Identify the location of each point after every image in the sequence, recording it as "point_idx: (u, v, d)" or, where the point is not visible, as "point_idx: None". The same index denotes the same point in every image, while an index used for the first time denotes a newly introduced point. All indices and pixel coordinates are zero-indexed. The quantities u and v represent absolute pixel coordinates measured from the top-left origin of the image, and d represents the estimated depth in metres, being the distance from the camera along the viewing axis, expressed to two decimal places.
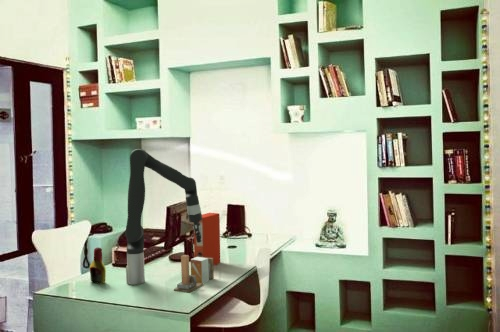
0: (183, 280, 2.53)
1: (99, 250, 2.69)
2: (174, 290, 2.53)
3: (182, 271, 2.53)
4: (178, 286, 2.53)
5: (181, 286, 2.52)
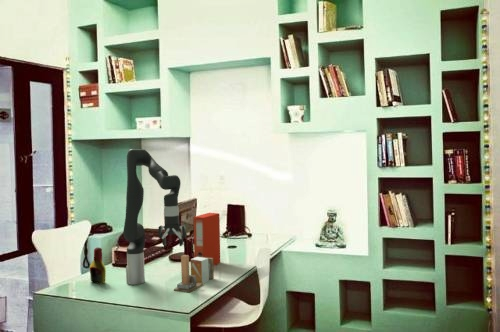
0: (183, 280, 2.53)
1: (99, 250, 2.69)
2: (174, 290, 2.53)
3: (182, 271, 2.53)
4: (178, 286, 2.53)
5: (181, 286, 2.52)
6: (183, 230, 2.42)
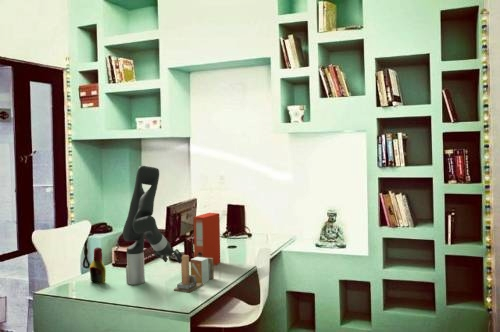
0: (183, 280, 2.53)
1: (99, 250, 2.69)
2: (174, 290, 2.53)
3: (182, 271, 2.53)
4: (178, 286, 2.53)
5: (181, 286, 2.52)
6: (176, 255, 2.35)
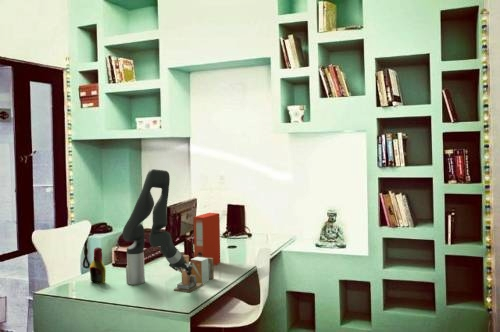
0: (183, 280, 2.53)
1: (99, 250, 2.69)
2: (174, 290, 2.53)
3: (182, 271, 2.53)
4: (178, 286, 2.53)
5: (181, 286, 2.52)
6: (189, 269, 2.48)
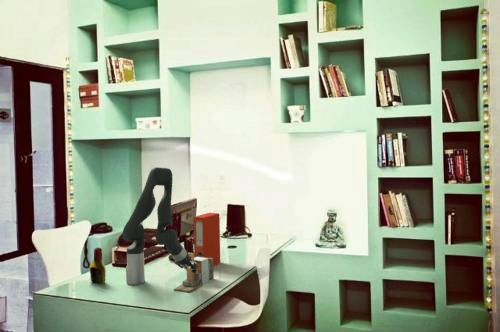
0: (188, 277, 2.58)
1: (99, 250, 2.69)
2: (174, 290, 2.53)
3: (187, 268, 2.58)
4: (183, 283, 2.58)
5: (186, 283, 2.57)
6: (194, 266, 2.53)
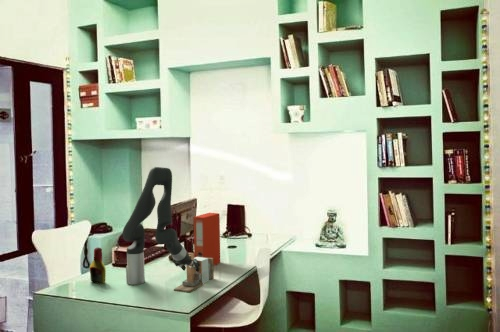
0: (188, 277, 2.58)
1: (99, 250, 2.69)
2: (174, 290, 2.53)
3: (187, 268, 2.58)
4: (183, 283, 2.58)
5: (186, 283, 2.57)
6: (195, 264, 2.51)
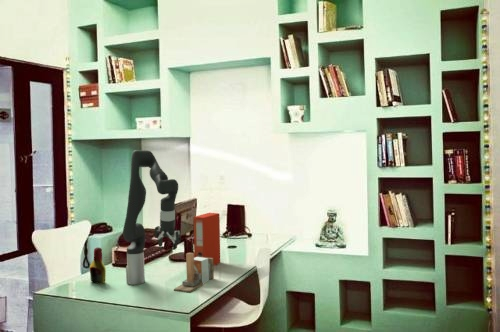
0: (188, 277, 2.58)
1: (99, 250, 2.69)
2: (174, 290, 2.53)
3: (187, 268, 2.58)
4: (183, 283, 2.58)
5: (186, 283, 2.57)
6: (176, 236, 2.40)
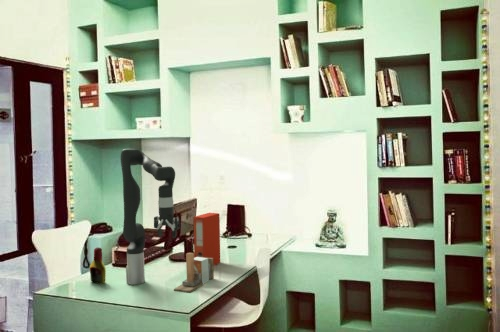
0: (188, 277, 2.58)
1: (99, 250, 2.69)
2: (174, 290, 2.53)
3: (187, 268, 2.58)
4: (183, 283, 2.58)
5: (186, 283, 2.57)
6: (175, 222, 2.41)
